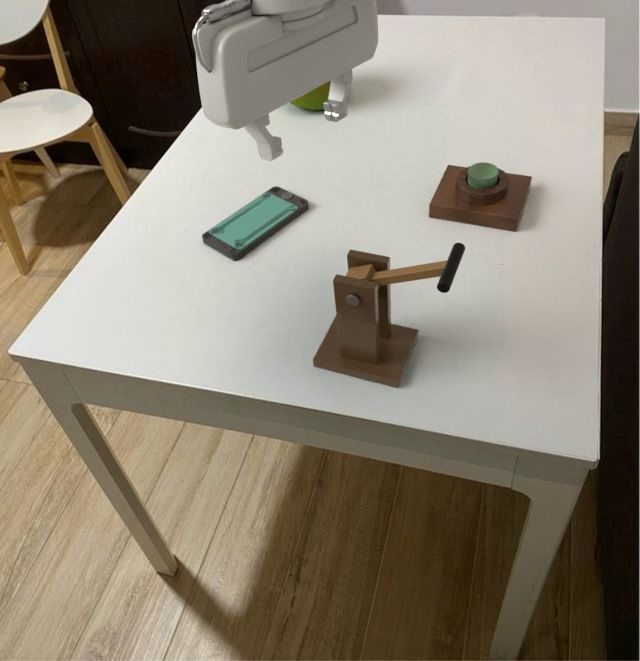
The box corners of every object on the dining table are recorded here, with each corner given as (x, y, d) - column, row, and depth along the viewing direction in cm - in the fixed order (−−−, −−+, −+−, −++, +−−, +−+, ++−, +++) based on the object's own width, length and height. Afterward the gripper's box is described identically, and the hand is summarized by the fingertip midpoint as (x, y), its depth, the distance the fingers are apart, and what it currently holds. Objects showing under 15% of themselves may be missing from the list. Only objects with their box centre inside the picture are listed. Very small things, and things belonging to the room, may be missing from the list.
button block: (529, 189, 94) (534, 165, 91) (516, 231, 88) (520, 207, 85) (447, 177, 97) (448, 153, 95) (428, 217, 91) (429, 193, 88)
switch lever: (469, 255, 64) (460, 236, 62) (453, 297, 60) (444, 277, 59) (365, 273, 71) (355, 256, 70) (346, 311, 67) (335, 293, 66)
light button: (500, 175, 90) (501, 164, 89) (493, 191, 88) (495, 180, 87) (471, 171, 92) (472, 160, 90) (464, 187, 89) (465, 176, 88)
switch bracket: (418, 336, 76) (420, 252, 67) (397, 388, 72) (397, 305, 62) (338, 318, 80) (330, 235, 70) (313, 366, 75) (300, 284, 65)
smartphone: (310, 200, 95) (233, 254, 88) (310, 207, 95) (235, 261, 88) (274, 183, 98) (198, 234, 91) (275, 190, 99) (200, 241, 92)
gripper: (216, 17, 47) (252, 191, 56) (386, -50, 58) (393, 104, 67) (161, 10, 50) (203, 175, 59) (331, -51, 61) (345, 95, 70)
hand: (305, 137), depth 63 cm, fingers open, 8 cm apart
